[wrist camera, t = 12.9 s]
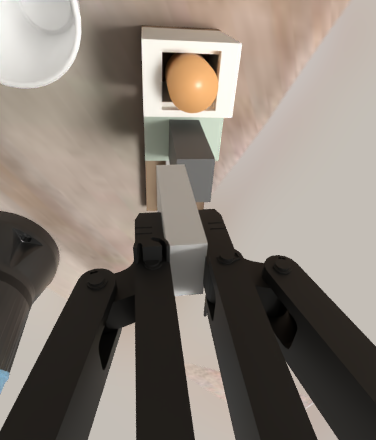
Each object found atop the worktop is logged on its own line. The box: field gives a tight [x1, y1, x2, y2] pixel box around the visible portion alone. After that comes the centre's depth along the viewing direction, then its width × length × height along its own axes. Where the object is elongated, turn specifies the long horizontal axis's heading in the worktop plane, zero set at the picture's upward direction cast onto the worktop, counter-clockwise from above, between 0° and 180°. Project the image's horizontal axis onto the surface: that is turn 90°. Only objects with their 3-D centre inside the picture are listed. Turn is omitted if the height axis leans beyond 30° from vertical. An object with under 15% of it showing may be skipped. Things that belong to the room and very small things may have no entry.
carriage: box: [144, 117, 223, 202], centre depth 31 cm, size 8×5×13 cm, turn 87°
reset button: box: [165, 53, 218, 113], centre depth 27 cm, size 4×4×5 cm
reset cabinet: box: [141, 27, 242, 118], centre depth 30 cm, size 8×6×8 cm
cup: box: [0, 0, 81, 89], centre depth 26 cm, size 10×10×11 cm
